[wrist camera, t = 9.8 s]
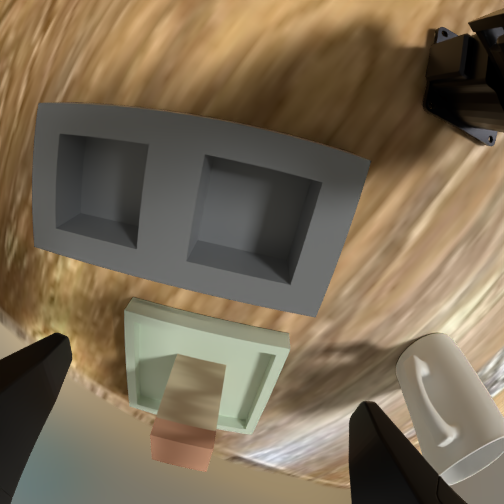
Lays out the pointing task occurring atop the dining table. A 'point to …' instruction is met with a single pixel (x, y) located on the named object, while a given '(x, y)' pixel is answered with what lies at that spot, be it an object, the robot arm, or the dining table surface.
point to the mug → (449, 408)
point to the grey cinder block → (194, 201)
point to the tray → (205, 348)
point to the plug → (188, 414)
